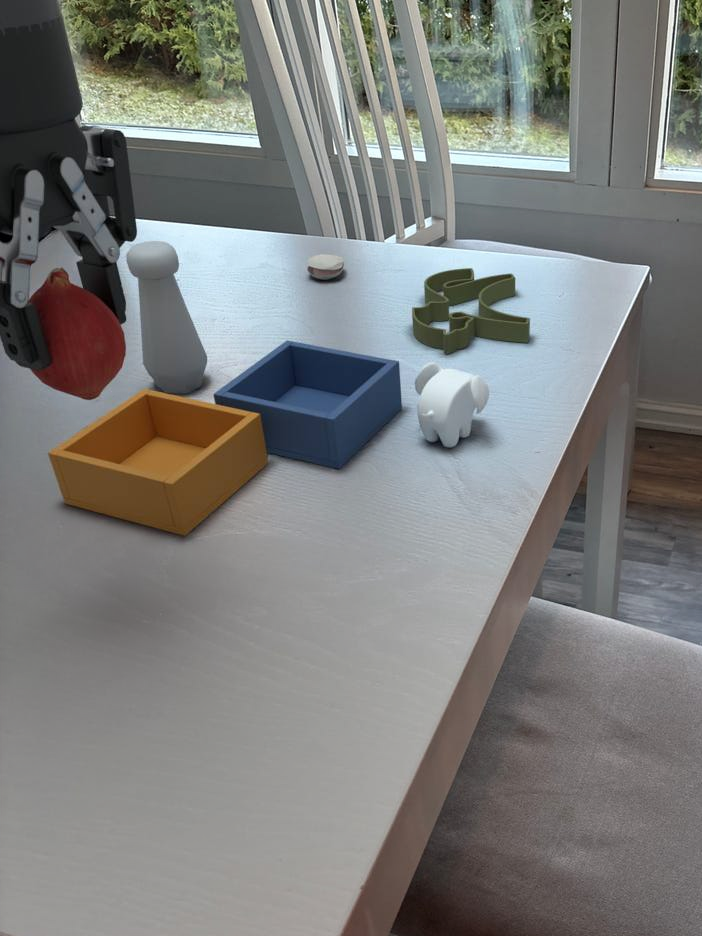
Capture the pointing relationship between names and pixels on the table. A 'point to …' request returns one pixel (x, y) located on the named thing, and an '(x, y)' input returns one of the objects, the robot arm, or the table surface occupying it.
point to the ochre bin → (160, 460)
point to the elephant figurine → (448, 402)
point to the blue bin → (317, 400)
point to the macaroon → (325, 266)
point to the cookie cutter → (463, 325)
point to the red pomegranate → (77, 338)
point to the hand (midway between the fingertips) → (73, 343)
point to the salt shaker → (165, 320)
